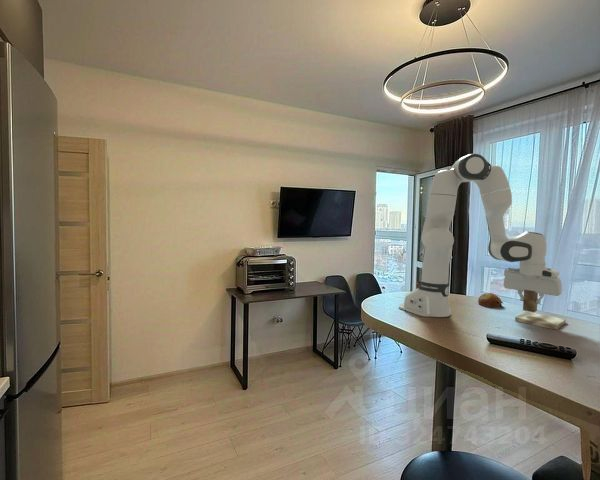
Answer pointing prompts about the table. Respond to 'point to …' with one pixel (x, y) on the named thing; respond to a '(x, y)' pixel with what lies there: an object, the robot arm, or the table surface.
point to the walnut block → (530, 301)
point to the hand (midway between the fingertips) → (530, 302)
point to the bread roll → (490, 300)
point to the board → (541, 320)
